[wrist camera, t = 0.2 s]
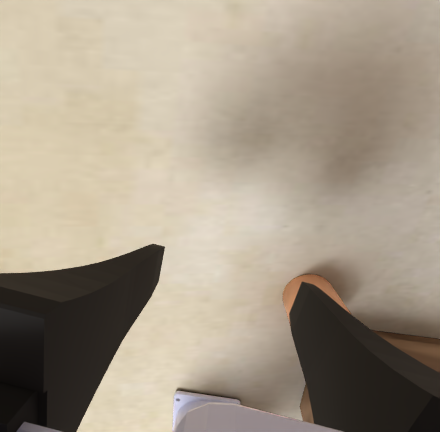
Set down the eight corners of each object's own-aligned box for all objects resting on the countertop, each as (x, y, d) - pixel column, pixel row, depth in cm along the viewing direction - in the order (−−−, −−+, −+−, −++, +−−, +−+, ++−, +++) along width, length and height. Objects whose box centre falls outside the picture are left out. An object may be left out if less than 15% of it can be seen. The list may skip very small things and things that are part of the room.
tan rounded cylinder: (327, 319, 23) (347, 358, 19) (278, 313, 24) (287, 350, 19) (339, 277, 22) (364, 308, 18) (287, 271, 22) (299, 300, 18)
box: (404, 422, 26) (432, 468, 23) (299, 406, 27) (310, 449, 23) (442, 339, 23) (483, 377, 19) (321, 323, 23) (338, 357, 20)
